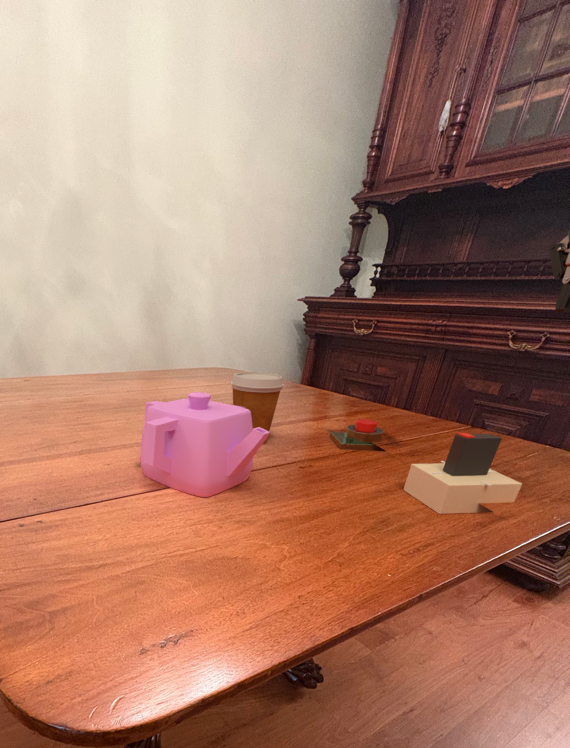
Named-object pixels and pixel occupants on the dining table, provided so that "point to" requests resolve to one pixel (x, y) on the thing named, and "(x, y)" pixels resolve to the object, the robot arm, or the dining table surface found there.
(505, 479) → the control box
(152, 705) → the dining table surface
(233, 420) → the teakettle
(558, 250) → the robot arm
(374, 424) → the power button
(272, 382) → the disposable coffee cup
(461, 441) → the switch lever
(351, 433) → the switch block
